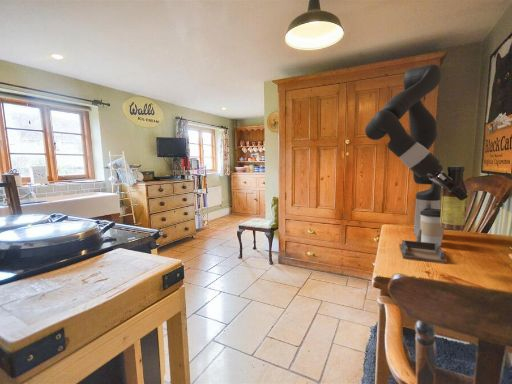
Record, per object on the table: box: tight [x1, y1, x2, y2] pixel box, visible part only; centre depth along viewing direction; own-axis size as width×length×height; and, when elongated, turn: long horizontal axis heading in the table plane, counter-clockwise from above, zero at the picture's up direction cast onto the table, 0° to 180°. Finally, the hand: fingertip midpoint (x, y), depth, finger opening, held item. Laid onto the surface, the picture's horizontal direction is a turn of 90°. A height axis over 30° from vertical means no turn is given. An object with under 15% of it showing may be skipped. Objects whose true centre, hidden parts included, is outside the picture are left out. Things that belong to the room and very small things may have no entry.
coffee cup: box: [420, 208, 445, 247], centre depth 104 cm, size 9×9×15 cm
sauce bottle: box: [440, 165, 468, 231], centre depth 78 cm, size 7×6×20 cm
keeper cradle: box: [398, 229, 448, 265], centre depth 94 cm, size 14×13×8 cm
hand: (460, 196), depth 77 cm, fingers closed on sauce bottle, 6 cm apart
